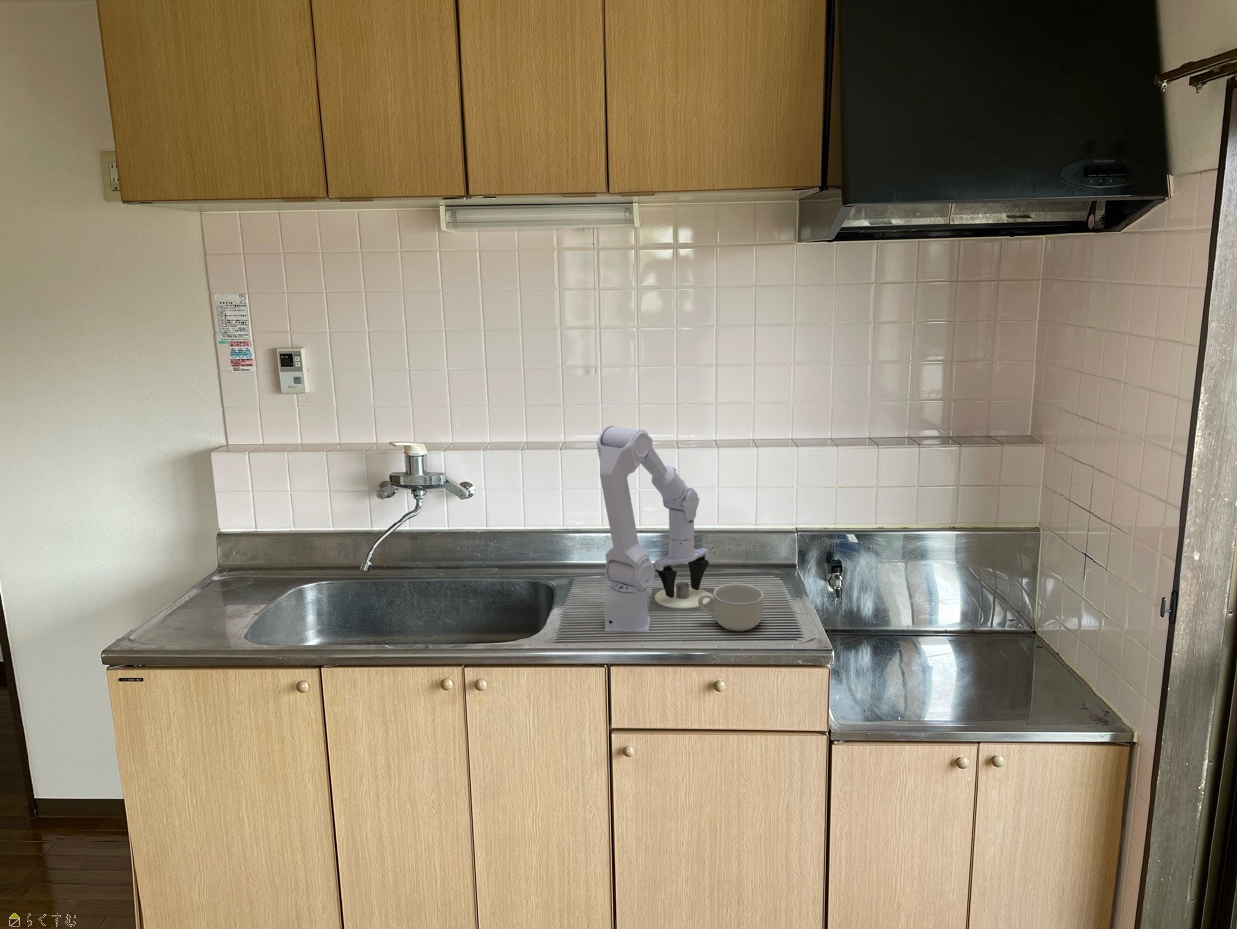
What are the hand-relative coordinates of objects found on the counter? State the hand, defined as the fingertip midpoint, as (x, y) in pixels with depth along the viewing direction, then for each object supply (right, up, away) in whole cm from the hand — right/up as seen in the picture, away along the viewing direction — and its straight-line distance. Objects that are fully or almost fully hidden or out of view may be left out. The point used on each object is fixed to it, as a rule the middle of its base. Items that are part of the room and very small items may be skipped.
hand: (682, 592), depth 214 cm
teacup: (+9, -5, -15) cm, 19 cm away
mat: (0, -2, 0) cm, 2 cm away
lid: (0, -2, 0) cm, 2 cm away
